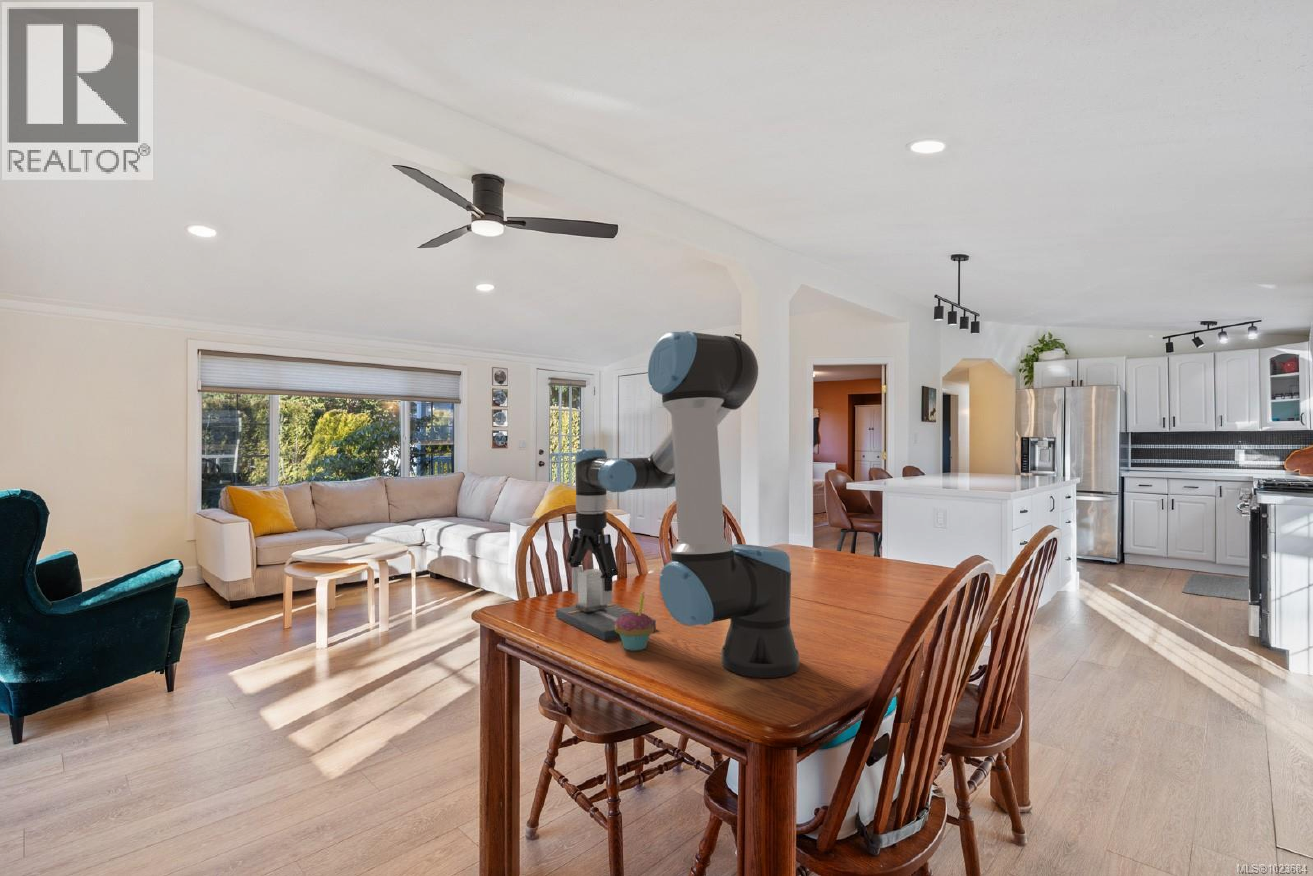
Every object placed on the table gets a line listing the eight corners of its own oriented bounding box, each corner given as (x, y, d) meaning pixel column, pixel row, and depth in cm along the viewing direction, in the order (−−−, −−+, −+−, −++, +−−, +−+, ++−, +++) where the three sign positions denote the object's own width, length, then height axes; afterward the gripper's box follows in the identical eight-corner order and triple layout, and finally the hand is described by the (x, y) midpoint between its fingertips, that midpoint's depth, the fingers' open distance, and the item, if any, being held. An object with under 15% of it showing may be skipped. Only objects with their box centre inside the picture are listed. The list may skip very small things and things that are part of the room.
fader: (607, 608, 157) (607, 571, 157) (585, 612, 153) (585, 574, 153) (596, 603, 161) (596, 567, 161) (575, 607, 157) (575, 570, 157)
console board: (655, 629, 148) (655, 619, 148) (604, 641, 139) (604, 631, 139) (604, 607, 165) (604, 599, 165) (556, 617, 157) (556, 608, 157)
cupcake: (659, 642, 138) (659, 587, 138) (648, 655, 130) (648, 597, 130) (621, 639, 141) (621, 584, 141) (608, 651, 133) (608, 594, 132)
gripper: (632, 516, 149) (632, 606, 149) (578, 505, 169) (578, 585, 169) (605, 518, 145) (605, 612, 145) (553, 507, 164) (553, 590, 165)
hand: (591, 598), depth 157 cm, fingers open, 13 cm apart
